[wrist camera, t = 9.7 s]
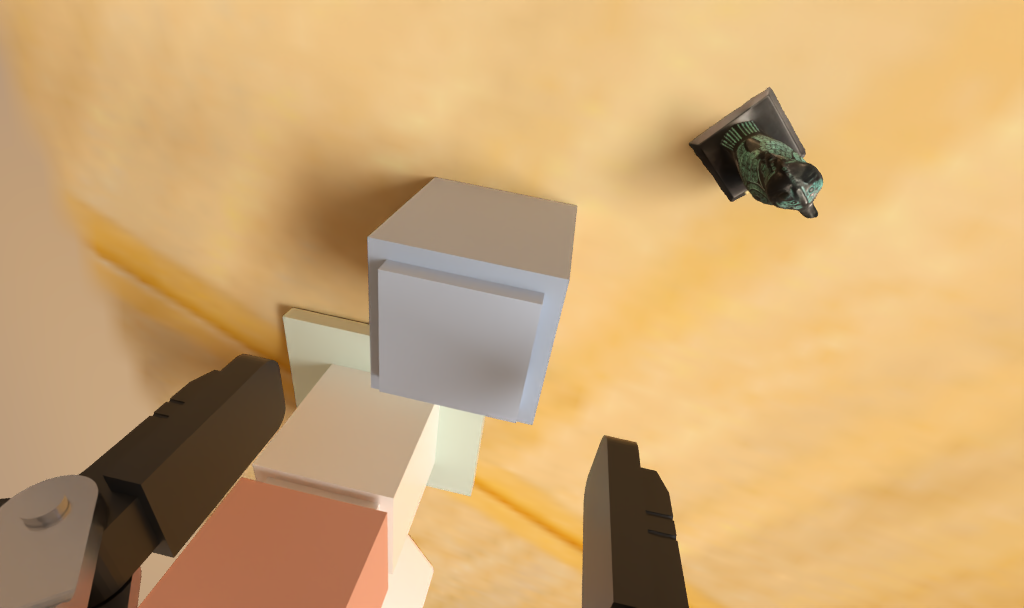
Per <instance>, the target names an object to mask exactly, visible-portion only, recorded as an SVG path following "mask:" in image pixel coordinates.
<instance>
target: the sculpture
mask: <svg viewBox="0 0 1024 608" xmlns="http://www.w3.org/2000/svg"><path fill="white" fill-rule="evenodd" d="M689 145H690V147H691V148H692V149H693V150H694V152H695V154H696V155H697V156H698V157H699V158H700V159H701V161H702V162H703V164H704V166H705V167H706V168H707V169H708V170H709V172H710V173H711V174H712V175H713V177H714V178H715V180H716V182H717V183H718V185H719V187H720V188H721V190H722V191H723V192H724V193H725V195H726V196H727V197H728V199H729V200H730V201H731V202H733V201H735V200H736V199H738V198H740V197H742V196H744V195H746V194H748V193H751V194H752V196H753V197H754V199H756V200H757V201H760V202H762V203H764V204H768V205H774V206H776V207H779V208H783V209H792V210H798V211H799V212H800V213H801V214H802V215H803V216H805V217H806V218H814V217H817V216H818V212H817V210H816V208H815V207H814V205H813V201H814V199H815V198H816V196H817V194H818V192H819V191H820V190H821V188H822V186H823V178H822V175H821V173H820V172H819V171H818V169H817V168H816V167H815V166H813V165H812V164H809V163H807V162H806V161H805V160H804V159H803V157H804V156H805V154H806V153H805V149H804V147H803V146H802V144H801V142H800V141H799V138H798V137H797V135H796V133H795V131H794V129H793V127H792V125H791V123H790V122H789V120H788V118H787V117H786V115H785V113H784V111H783V110H782V107H781V105H780V103H779V101H778V100H777V98H776V96H775V94H774V92H773V90H772V89H771V88H770V87H769V88H767V89H766V90H765V91H763V92H761V93H760V94H758V95H756V96H755V97H753V98H751V99H750V100H749V101H747V102H746V103H745V104H744V105H742V106H741V107H739V108H738V109H736V110H734V111H733V112H731V113H730V114H728V115H727V116H725V117H724V118H723V119H721V120H720V121H719V122H717V123H716V124H715V125H713V126H711V127H710V128H709V129H707V130H706V131H705V132H703V133H702V134H700V135H699V136H697V137H696V138H695V139H694V140H693V141H691V142H690V143H689Z"/></svg>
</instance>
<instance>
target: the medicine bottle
mask: <svg viewBox="0 0 1024 608" xmlns="http://www.w3.org/2000/svg"><path fill="white" fill-rule="evenodd" d="M433 572H434V569H433V566H432V565H431V564H430V562H429V561H428V560H427V558H426V557H425V556H424V554H423V553H422V552H421V550H420V549H419V548H418V546H417V545H416V544H415V543H414V541H413V540H412V539H411V537H410V536H409V535H407V538H406V540H405V543H404V546H403V548H402V551H401V554H400V556H399V559H398V562H397V564H396V567H395V570H394V572H393V574H389V573H388V591H387V593H386V596H385V599H384V601H383V604H382V607H381V608H423V605H424V602H425V598H426V595H427V592H428V588H429V585H430V582H431V578H432V575H433Z"/></svg>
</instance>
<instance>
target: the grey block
mask: <svg viewBox="0 0 1024 608" xmlns="http://www.w3.org/2000/svg"><path fill="white" fill-rule="evenodd" d="M576 213H577V206H576V205H571V204H566V203H561V202H556V201H551V200H546V199H541V198H536V197H531V196H526V195H521V194H517V193H512V192H507V191H502V190H497V189H492V188H487V187H482V186H477V185H472V184H467V183H462V182H457V181H452V180H447V179H442V178H438V177H434V178H433V179H432V180H431V181H430V182H429V183H428V184H427V185H425V186H424V187H423V188H422V189H421V190H420V191H419V192H418V193H416V194H415V195H414V196H413V197H412V198H411V199H410V200H408V201H407V202H406V203H405V204H404V205H403V206H402V207H401V208H399V209H398V210H397V211H396V212H395V213H394V214H393V215H392V216H390V217H389V218H388V219H387V220H386V221H385V222H384V223H383V224H381V225H380V226H379V227H378V228H377V229H376V230H375V231H374V232H372V233H371V234H370V235H369V236H368V237H367V243H368V284H369V325H370V366H371V388H375V389H379V392H384V393H388V394H392V395H397V396H401V397H405V398H410V399H414V400H418V401H423V402H427V403H431V404H436V405H440V406H444V407H448V408H453V409H457V410H461V411H466V412H470V413H474V414H479V415H483V416H487V417H492V418H496V419H500V420H505V421H509V422H513V423H516V421H517V422H522V423H526V424H530V425H533V421H534V417H535V413H536V409H537V405H538V401H539V397H540V393H541V389H542V386H543V382H544V378H545V374H546V370H547V366H548V362H549V358H550V354H551V350H552V346H553V342H554V338H555V334H556V331H557V327H558V323H559V319H560V315H561V311H562V307H563V303H564V299H565V295H566V291H567V287H568V283H569V279H570V269H571V260H572V251H573V241H574V232H575V222H576Z"/></svg>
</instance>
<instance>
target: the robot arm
mask: <svg viewBox="0 0 1024 608" xmlns="http://www.w3.org/2000/svg"><path fill="white" fill-rule="evenodd" d="M284 414H285V400H284V394H283V388H282V381H281V375H280V369H279V365H278V363H277V362H276V361H274V360H270V359H265V358H261V357H256V356H252V355H247V354H242V355H239V356H238V357H236V358H235V359H234V360H233V361H231V362H230V363H229V364H228V365H227V366H226V367H225V368H224V369H222V370H221V371H217V370H214V371H212V372H210V373H207V374H205V375H203V376H201V377H199V378H197V379H195V380H193V381H191V382H189V383H188V384H187V385H186V386H185V387H183V388H182V389H181V390H180V391H179V392H177V393H176V394H175V395H174V396H173V397H172V398H170V401H169V402H166V403H164V404H163V405H162V406H161V407H160V408H158V409H157V410H156V411H155V412H154V415H153V416H149V417H148V418H147V419H145V420H144V421H143V422H142V423H141V424H139V425H138V426H137V427H136V428H135V429H134V430H132V431H131V432H130V433H129V434H128V435H126V436H125V437H124V438H123V439H122V440H120V441H119V442H118V443H117V444H116V445H115V446H113V447H112V448H111V449H110V450H109V451H107V452H106V453H105V454H104V455H103V456H101V457H100V458H99V459H98V460H97V461H96V462H94V463H93V464H92V465H91V466H90V467H88V468H87V469H86V470H85V471H84V472H82V473H81V474H79V475H67V476H60V477H55V478H52V479H48V480H45V481H43V482H40V483H37V484H35V485H33V486H31V487H29V488H27V489H25V490H24V491H22V492H20V493H18V494H17V495H15V496H14V497H12V498H6V499H0V608H137V606H138V597H139V590H140V583H141V567H140V566H141V564H142V563H143V562H144V561H145V560H146V559H147V558H148V556H149V555H150V554H151V553H152V552H153V553H157V554H162V555H165V556H170V557H175V556H176V555H177V553H178V552H179V551H180V550H181V548H182V547H183V546H184V545H185V543H186V542H187V541H188V540H189V539H190V537H191V536H192V535H193V534H194V532H195V531H196V530H197V529H198V527H199V526H200V525H201V524H202V523H203V521H204V520H205V519H206V518H207V516H208V515H209V514H210V513H211V511H212V510H213V509H214V508H215V507H216V505H217V504H218V503H219V502H220V500H221V499H222V498H223V497H224V495H225V494H226V493H227V492H228V491H229V489H230V488H231V487H232V486H233V484H234V483H235V482H236V481H237V479H238V478H239V477H240V476H241V475H242V473H243V472H244V471H245V470H246V468H247V467H248V466H249V465H250V463H251V462H252V461H253V460H254V459H255V457H256V456H257V455H258V454H259V452H260V451H261V450H262V449H263V447H264V446H265V445H266V444H267V443H268V441H269V440H270V439H271V438H272V436H273V435H274V434H275V433H276V431H277V430H278V429H279V427H280V425H281V423H282V421H283V418H284ZM582 608H689V605H688V600H687V594H686V588H685V582H684V576H683V571H682V565H681V559H680V553H679V548H678V542H677V541H676V530H675V524H674V521H673V513H672V507H671V501H670V496H669V492H668V490H667V489H666V487H665V485H664V483H663V482H662V480H661V478H660V476H659V475H658V473H657V471H654V470H649V469H645V468H641V467H640V458H639V450H638V445H637V443H636V442H632V441H628V440H623V439H619V438H614V437H610V436H605V435H604V436H603V438H602V440H601V442H600V445H599V448H598V451H597V453H596V456H595V459H594V461H593V464H592V467H591V470H590V472H589V475H588V478H587V482H586V487H585V494H584V515H583V575H582Z"/></svg>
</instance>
